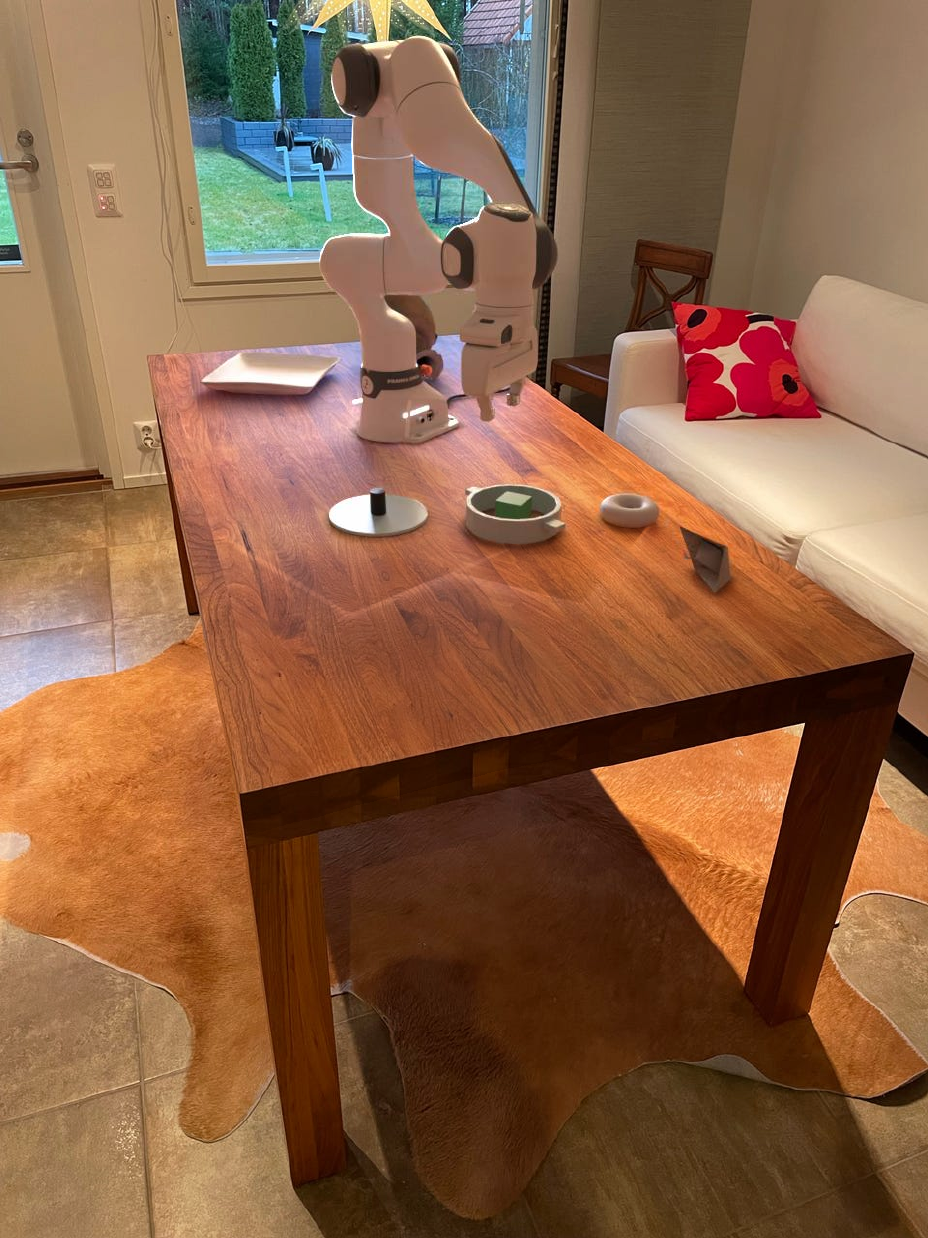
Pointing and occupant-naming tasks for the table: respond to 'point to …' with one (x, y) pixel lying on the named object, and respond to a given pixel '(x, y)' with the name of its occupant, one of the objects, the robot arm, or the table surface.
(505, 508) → the block
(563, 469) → the table surface
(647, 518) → the donut
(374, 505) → the pan lid
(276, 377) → the square plate
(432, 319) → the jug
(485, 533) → the pan
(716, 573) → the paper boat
